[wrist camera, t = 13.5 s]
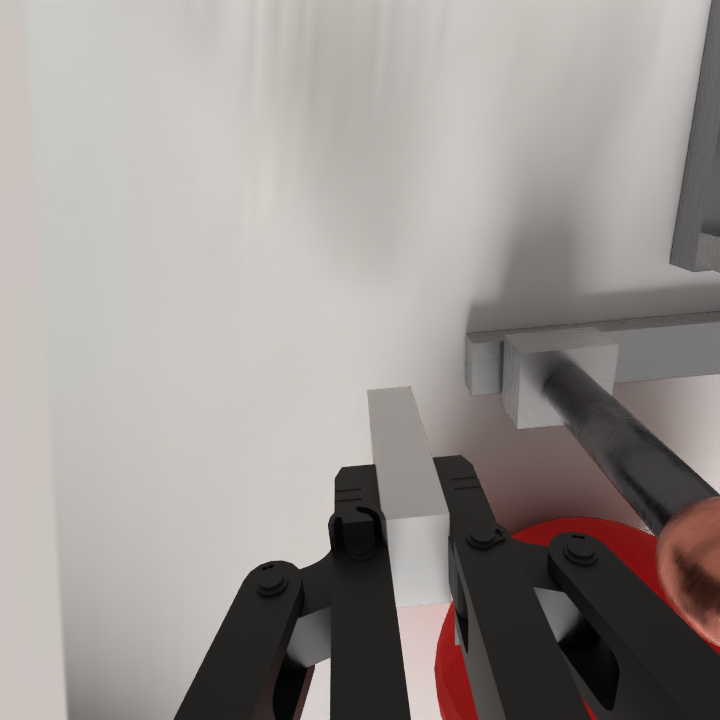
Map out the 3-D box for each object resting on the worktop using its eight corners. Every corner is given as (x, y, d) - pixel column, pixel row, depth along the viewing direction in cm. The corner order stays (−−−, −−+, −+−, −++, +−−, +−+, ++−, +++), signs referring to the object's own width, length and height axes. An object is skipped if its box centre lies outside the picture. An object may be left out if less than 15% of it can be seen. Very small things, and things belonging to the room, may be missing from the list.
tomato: (702, 526, 27) (926, 760, 17) (551, 679, 31) (655, 939, 21) (521, 436, 24) (655, 648, 14) (383, 616, 28) (409, 880, 18)
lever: (501, 405, 22) (692, 705, 10) (504, 334, 20) (725, 584, 9) (585, 397, 22) (873, 688, 10) (593, 326, 20) (932, 565, 9)
